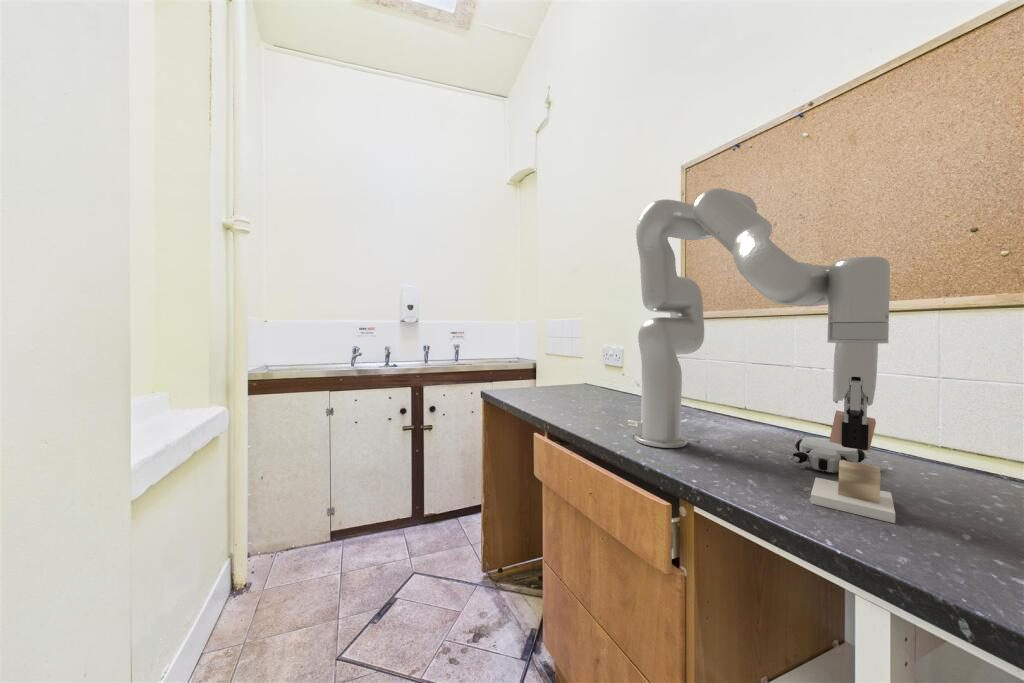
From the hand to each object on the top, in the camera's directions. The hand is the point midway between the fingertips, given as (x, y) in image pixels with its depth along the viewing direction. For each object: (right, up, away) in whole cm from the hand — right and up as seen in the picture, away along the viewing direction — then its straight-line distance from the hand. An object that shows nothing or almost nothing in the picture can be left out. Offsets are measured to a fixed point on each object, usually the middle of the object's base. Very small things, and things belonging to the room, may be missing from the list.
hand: (854, 443), depth 65 cm
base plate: (0, -10, +1) cm, 10 cm away
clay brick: (0, 0, 0) cm, 1 cm away
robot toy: (+10, -10, +18) cm, 23 cm away
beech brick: (+1, -8, 0) cm, 8 cm away
